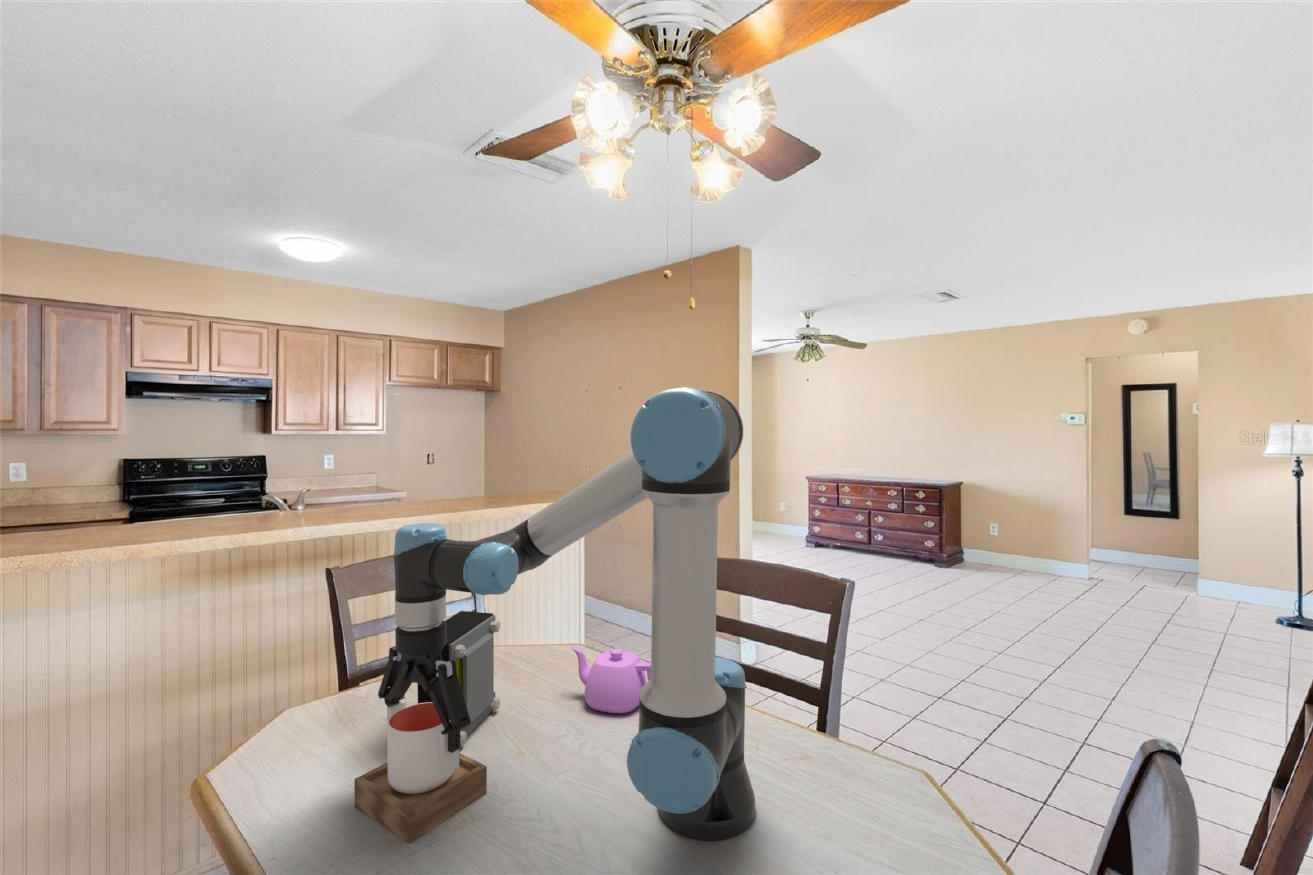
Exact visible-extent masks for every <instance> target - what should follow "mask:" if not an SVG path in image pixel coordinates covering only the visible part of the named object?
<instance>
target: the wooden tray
mask: <svg viewBox="0 0 1313 875" xmlns="http://www.w3.org/2000/svg"><path fill="white" fill-rule="evenodd" d="M487 776H488V775H487V765H485V764H483V763H482V762H479V761H477V760H475V759H472V758H471V757H469V756H467V755H465V754H463V753H461V752H459V767H458V768H456V769H455V770H454V773H453V774H452V776H451V777H450V779H449V780H448V781H447V782H445V783H444V784H443V785H441V786H440V787H438V788H436V789H434V790H431V791H428V792H424V793H419V794H405V793H401V792H398V791H396V790H394V789H393V788H392V787H391V786H390V784H389V782H388V761H387V762H385V763H383V764H382V765H380V766H377V767H376V768H374V769H372V770H370V771H367V772H366V773H363V774H362V775H360V776H358V777H356V778H354V808H355V809H357V810H358V811H360V812H361V813H362V814H364V815H366V816H367V817H368V818H370V819H372V820H373V821H375V822H376V823H378V824H379V825H380V826H382V827H384V828H385V829H386V830H388V831H389V832H391V833H393V834H394V835H396V836H397V837H399V838H400V839H402V840H403V841H404V842H406V843H408V844H410V843H412V842H413V841H415V840H416V839H418V838H419V837H421V836H423V835H424V834H425V833H427V832H429V831H430V830H432V829H434V828H435V827H436V826H438V825H440V824H441V823H443V822H444V821H446V820H447V819H449V818H451V817H452V816H454V815H456V814H457V813H459V812H460V811H461V810H463V809H464V808H466V807H467V806H469V805H471V804H472V803H474V802H476V801H477V800H479V799H481V798H482V797H483V796H485V795H487V793H488V792H487V791H488V790H487V786H488V785H487V782H488V781H487V780H488V779H487Z"/></svg>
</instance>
